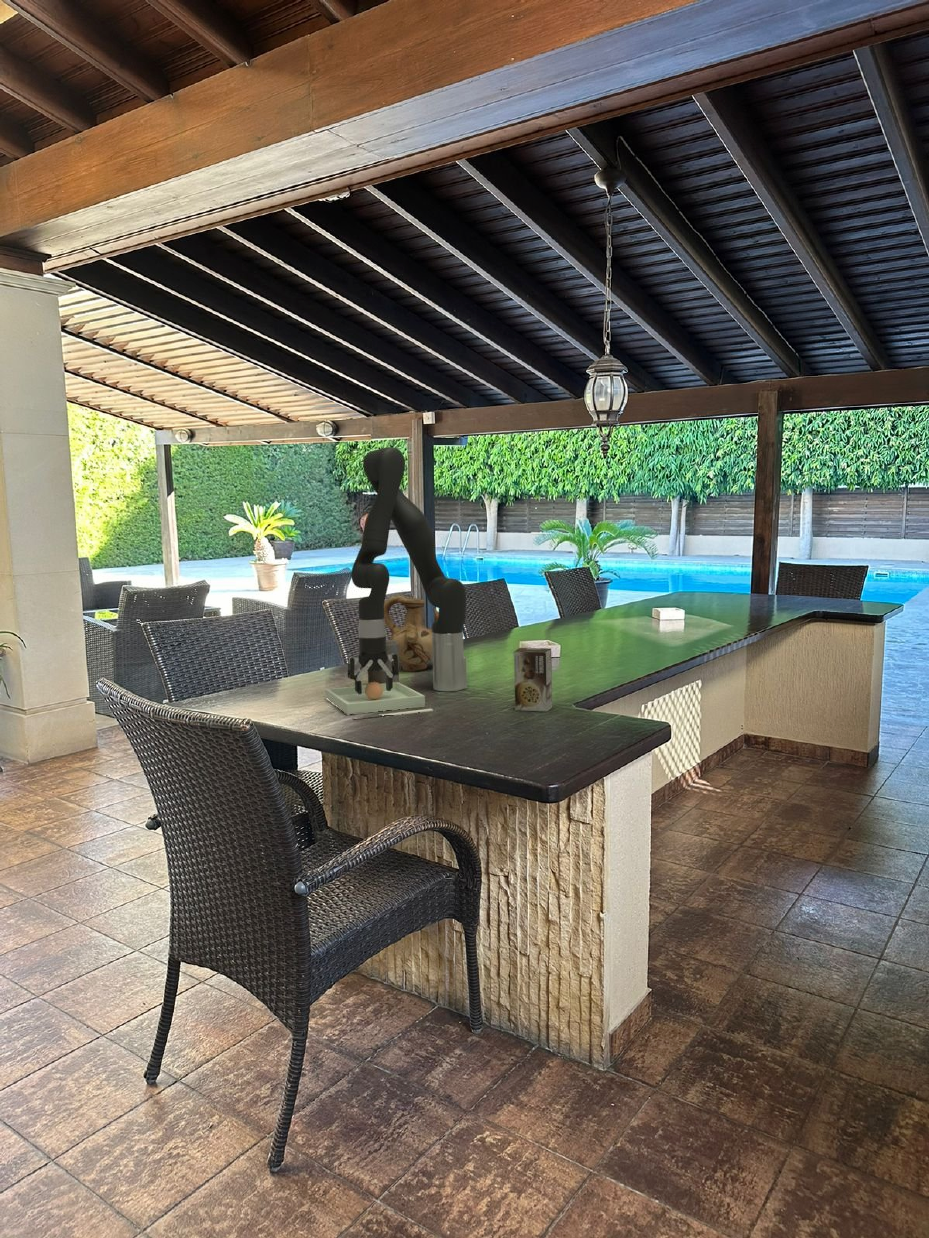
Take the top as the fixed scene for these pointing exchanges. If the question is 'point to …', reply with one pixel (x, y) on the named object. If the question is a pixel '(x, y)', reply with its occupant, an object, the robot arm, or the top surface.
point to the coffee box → (533, 679)
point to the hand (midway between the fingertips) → (374, 692)
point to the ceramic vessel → (411, 633)
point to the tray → (388, 701)
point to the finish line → (408, 712)
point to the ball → (374, 690)
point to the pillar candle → (380, 675)
